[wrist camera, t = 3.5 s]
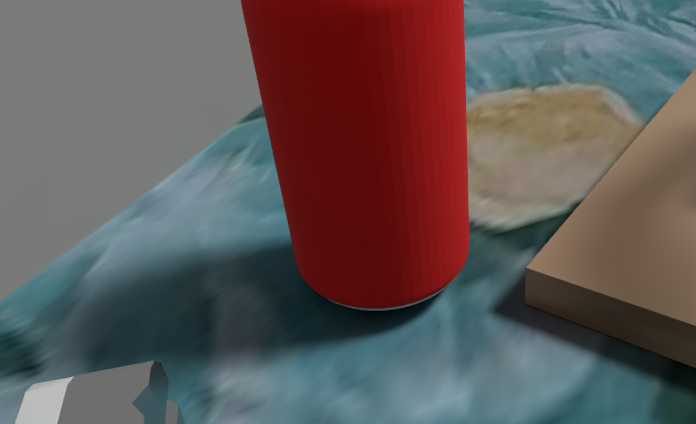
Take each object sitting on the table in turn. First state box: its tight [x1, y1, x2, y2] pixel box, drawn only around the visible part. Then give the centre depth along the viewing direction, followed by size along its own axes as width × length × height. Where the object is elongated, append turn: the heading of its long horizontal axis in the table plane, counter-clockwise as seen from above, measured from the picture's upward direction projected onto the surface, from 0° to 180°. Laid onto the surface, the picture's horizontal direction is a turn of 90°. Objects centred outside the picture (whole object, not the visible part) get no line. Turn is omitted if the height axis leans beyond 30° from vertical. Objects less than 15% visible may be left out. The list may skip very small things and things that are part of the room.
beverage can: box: [241, 0, 469, 311], centre depth 20 cm, size 6×6×12 cm
